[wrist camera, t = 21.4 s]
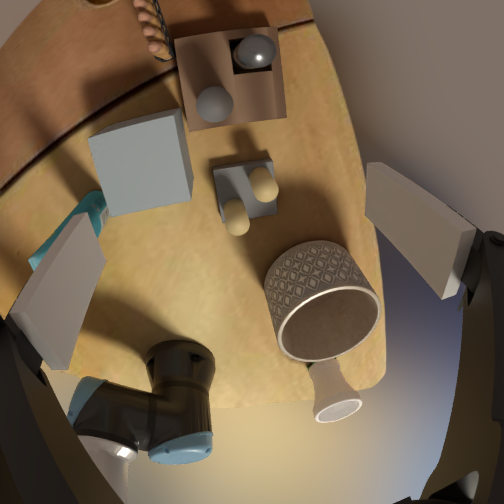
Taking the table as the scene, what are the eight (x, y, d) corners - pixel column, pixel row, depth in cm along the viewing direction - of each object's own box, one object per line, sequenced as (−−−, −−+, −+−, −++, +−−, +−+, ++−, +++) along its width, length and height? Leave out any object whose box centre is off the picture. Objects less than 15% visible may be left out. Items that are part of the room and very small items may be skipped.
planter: (245, 268, 50) (256, 325, 40) (332, 218, 47) (366, 265, 37) (287, 321, 59) (303, 373, 48) (361, 282, 56) (389, 329, 45)
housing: (126, 191, 40) (111, 217, 33) (108, 125, 34) (87, 138, 28) (193, 177, 40) (191, 200, 34) (180, 107, 35) (173, 115, 28)
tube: (75, 189, 38) (12, 265, 22) (102, 178, 38) (43, 253, 22) (95, 230, 42) (50, 320, 26) (121, 222, 42) (82, 312, 26)
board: (222, 218, 44) (224, 241, 39) (212, 167, 40) (213, 183, 34) (275, 209, 45) (285, 230, 39) (270, 158, 40) (281, 173, 35)
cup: (314, 380, 74) (329, 426, 62) (291, 367, 68) (305, 418, 56) (350, 359, 71) (369, 404, 59) (330, 343, 65) (350, 394, 53)
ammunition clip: (176, 57, 31) (163, 49, 21) (162, 62, 31) (143, 57, 21) (154, -10, 25) (134, -39, 15) (140, -4, 25) (115, -31, 15)
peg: (232, 71, 33) (241, 69, 25) (229, 45, 31) (236, 35, 23) (261, 68, 33) (278, 66, 25) (258, 42, 31) (274, 32, 23)
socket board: (190, 127, 36) (185, 144, 28) (176, 42, 30) (165, 31, 21) (281, 114, 37) (303, 127, 29) (271, 29, 30) (292, 16, 22)
